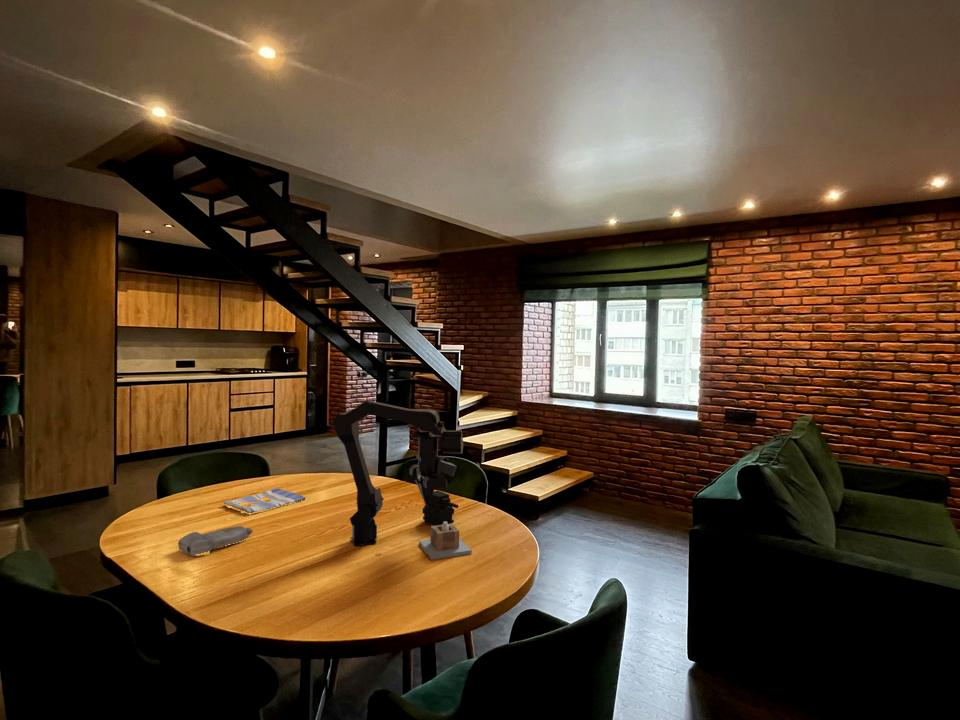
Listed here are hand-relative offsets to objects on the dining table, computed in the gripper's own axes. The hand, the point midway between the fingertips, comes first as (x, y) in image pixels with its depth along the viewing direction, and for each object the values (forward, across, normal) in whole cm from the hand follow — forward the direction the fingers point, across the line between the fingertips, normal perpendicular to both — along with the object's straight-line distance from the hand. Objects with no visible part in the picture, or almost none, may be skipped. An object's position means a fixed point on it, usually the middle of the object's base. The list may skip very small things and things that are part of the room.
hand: (427, 504), depth 152 cm
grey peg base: (+12, -5, -4) cm, 14 cm away
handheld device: (+13, +21, +57) cm, 62 cm away
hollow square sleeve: (+11, -5, -4) cm, 13 cm away
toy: (+12, +14, -10) cm, 21 cm away
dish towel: (+13, +59, +44) cm, 75 cm away
